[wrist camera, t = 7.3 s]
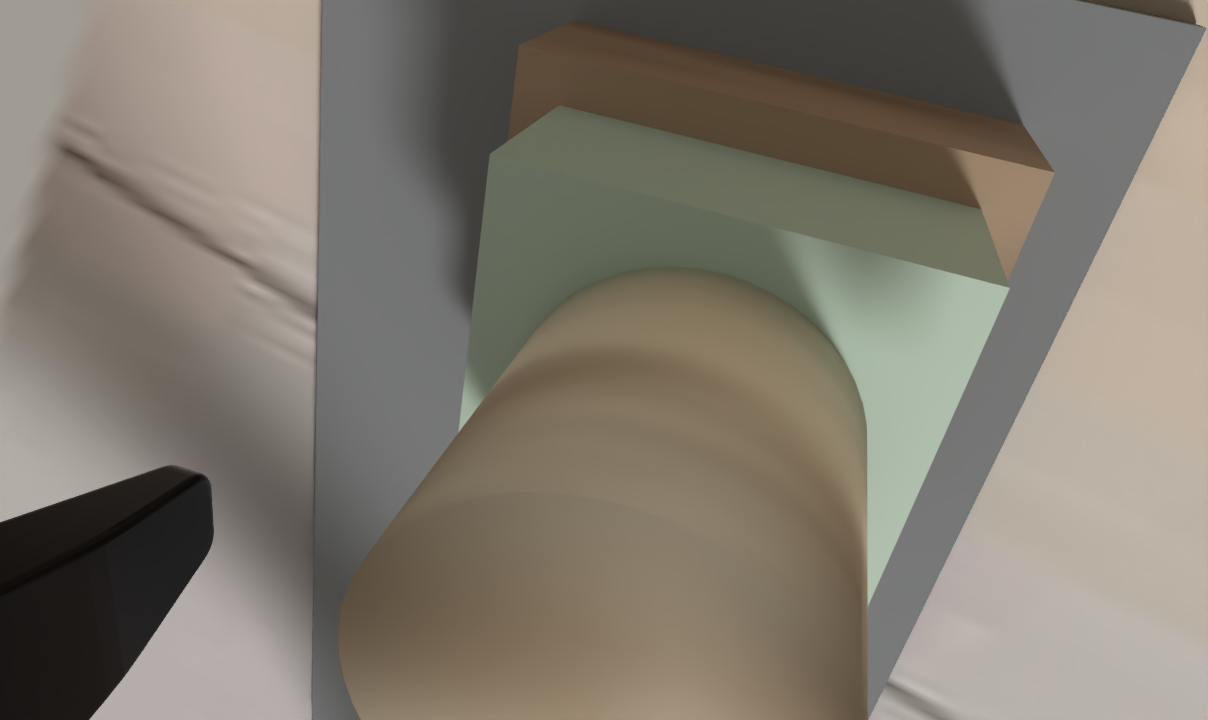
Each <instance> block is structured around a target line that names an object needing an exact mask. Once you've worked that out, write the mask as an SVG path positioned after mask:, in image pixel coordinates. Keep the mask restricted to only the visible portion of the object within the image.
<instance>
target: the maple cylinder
mask: <svg viewBox="0 0 1208 720" xmlns="http://www.w3.org/2000/svg"><path fill="white" fill-rule="evenodd" d="M338 642H339V658H340V662H341V667H342V672H343V677H344V681H345V684H346V687H347V689H348V692H349V695H350V698H351V700H352V703H353V705H354V707H355V709H356V711H357V713H358V715H359V717H360V719H361V720H868V546H867V424H866V418H865V412H864V407H863V402H862V400H861V397H860V394H859V391H858V388H857V385H856V382H855V380H854V378H853V376H852V374H851V372H850V370H849V368H848V367H847V365H846V363H845V361H844V360H843V358H842V357H841V355H840V354H839V352H838V351H837V350H836V348H835V347H834V345H833V344H832V343H831V341H830V340H829V339H828V338H827V337H826V336H825V335H824V334H823V333H822V332H821V331H820V329H819V328H818V327H817V326H816V325H815V324H814V323H813V322H811V321H810V320H809V319H808V318H807V317H805V316H804V315H803V314H802V313H801V312H799V311H798V310H797V309H796V308H795V307H793V306H792V305H790V304H788V303H787V302H785V301H784V300H782V299H781V298H779V297H777V296H776V295H774V294H773V293H771V292H768V291H766V290H764V289H762V288H760V287H758V286H756V285H754V284H752V283H750V282H747V281H744V280H741V279H738V278H735V277H732V276H729V275H726V274H722V273H717V272H712V271H707V270H703V269H696V268H683V267H655V268H644V269H639V270H633V271H627V272H623V273H620V274H617V275H613V276H610V277H607V278H604V279H601V280H599V281H597V282H595V283H593V284H591V285H588V286H586V287H584V288H582V289H581V290H579V291H577V292H576V293H574V294H573V295H571V296H570V297H568V298H567V299H565V300H564V301H563V302H562V303H560V304H559V305H558V306H557V307H556V308H555V309H554V310H553V311H552V312H550V313H549V314H548V315H547V317H546V318H545V319H544V320H543V321H542V323H541V324H540V325H539V326H538V328H537V329H536V330H535V331H534V333H533V334H532V335H531V337H530V338H529V339H528V341H527V342H526V343H525V345H524V346H523V347H522V349H521V350H520V351H519V353H518V354H517V355H516V357H515V358H514V359H513V361H512V362H511V363H510V365H509V366H508V367H507V369H506V370H505V371H504V373H503V374H502V375H501V377H500V378H499V379H498V381H497V382H496V383H495V385H494V386H493V387H492V389H491V390H490V391H489V393H488V394H487V395H486V397H485V398H484V399H483V401H482V402H481V403H480V405H479V406H478V407H477V409H476V410H475V411H474V413H473V414H472V415H471V417H470V418H469V419H468V421H467V422H466V423H465V425H464V426H463V427H462V429H461V430H460V431H459V433H458V434H457V435H456V437H455V438H454V439H453V441H452V442H451V443H450V445H449V446H448V447H447V449H446V450H445V451H444V453H443V454H442V455H441V457H440V458H439V459H438V461H437V462H436V463H435V465H434V466H433V467H432V469H431V470H430V471H429V473H428V474H427V475H426V477H425V478H424V479H423V481H422V482H421V483H420V485H419V486H418V487H417V489H416V490H415V491H414V493H413V494H412V495H411V497H410V498H409V499H408V501H407V502H406V503H405V505H404V506H403V507H402V509H401V510H400V511H399V513H398V514H397V515H396V517H395V518H394V519H393V521H392V522H391V523H390V525H389V526H388V527H387V529H386V530H385V531H384V533H383V534H382V535H381V537H380V538H379V539H378V541H377V542H376V543H375V545H374V546H373V547H372V549H371V550H370V551H369V553H368V554H367V555H366V557H365V558H364V559H363V561H362V562H361V563H360V565H359V567H358V569H357V570H356V572H355V574H354V576H353V578H352V580H351V581H350V583H349V585H348V588H347V591H346V594H345V597H344V600H343V603H342V606H341V612H340V620H339V628H338Z"/></svg>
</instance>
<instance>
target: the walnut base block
mask: <svg viewBox="0 0 1208 720" xmlns="http://www.w3.org/2000/svg"><path fill="white" fill-rule="evenodd" d="M559 105H561V106H565V107H569V108H573V109H577V110H581V111H585V112H589V113H593V114H597V115H601V116H605V117H609V118H613V119H617V120H621V121H625V122H629V123H633V124H638V125H642V126H646V127H650V128H654V129H658V130H662V131H666V132H670V133H674V134H678V135H682V136H686V137H690V138H694V139H698V140H702V141H706V142H710V143H715V144H719V145H723V146H727V147H731V148H735V149H739V150H743V151H747V152H751V153H755V154H759V155H763V156H767V157H771V158H775V159H779V160H783V161H788V162H792V163H796V164H800V165H804V166H808V167H812V168H816V169H820V170H824V171H828V172H832V173H836V174H840V175H844V176H848V177H852V178H856V179H860V180H865V181H869V182H873V183H877V184H881V185H885V186H889V187H893V188H897V189H901V190H905V191H909V192H913V193H917V194H921V195H925V196H929V197H933V198H937V199H942V200H946V201H950V202H954V203H958V204H962V205H966V206H970V207H974V208H978V209H982V212H983V215H984V217H985V220H986V223H987V226H988V229H989V231H990V234H991V237H992V240H993V242H994V245H995V248H996V251H997V253H998V256H999V259H1000V262H1001V265H1002V267H1003V270H1004V273H1005V276H1006V278H1007V280H1008V278H1009V276H1010V274H1011V271H1012V269H1013V267H1014V265H1015V262H1016V260H1017V258H1018V256H1019V253H1020V251H1021V249H1022V246H1023V244H1024V242H1025V240H1026V237H1027V235H1028V233H1029V231H1030V228H1031V226H1032V224H1033V222H1034V219H1035V217H1036V215H1037V213H1038V210H1039V208H1040V206H1041V204H1042V201H1043V199H1044V197H1045V194H1046V192H1047V190H1048V188H1049V185H1050V183H1051V181H1052V179H1053V176H1054V174H1055V172H1054V170H1053V169H1052V167H1051V166H1050V164H1049V163H1048V161H1047V160H1046V158H1045V157H1044V155H1043V154H1042V152H1041V151H1040V149H1039V148H1038V146H1037V145H1036V143H1035V142H1034V140H1033V139H1032V137H1031V136H1030V134H1029V133H1028V131H1027V130H1026V128H1025V127H1024V125H1023V124H1019V123H1015V122H1010V121H1006V120H1002V119H997V118H993V117H989V116H984V115H980V114H976V113H972V112H967V111H963V110H959V109H954V108H950V107H946V106H941V105H937V104H933V103H928V102H924V101H920V100H916V99H911V98H907V97H903V96H898V95H894V94H890V93H885V92H881V91H877V90H873V89H868V88H864V87H860V86H855V85H851V84H847V83H842V82H838V81H834V80H830V79H825V78H821V77H817V76H812V75H808V74H804V73H799V72H795V71H791V70H786V69H782V68H778V67H774V66H769V65H765V64H761V63H756V62H752V61H748V60H743V59H739V58H735V57H731V56H726V55H722V54H718V53H713V52H709V51H705V50H700V49H696V48H692V47H688V46H683V45H679V44H675V43H670V42H666V41H662V40H657V39H653V38H649V37H644V36H640V35H636V34H632V33H627V32H623V31H619V30H614V29H610V28H606V27H601V26H597V25H593V24H589V23H584V22H580V21H576V20H573V21H571V22H569V23H567V24H564V25H562V26H560V27H558V28H556V29H553V30H551V31H549V32H547V33H544V34H542V35H540V36H538V37H536V38H533V39H531V40H529V41H527V42H524V43H522V44H520V45H519V51H518V59H517V67H516V75H515V84H514V92H513V100H512V108H511V116H510V125H509V133H508V141H509V140H511V139H512V138H513V137H515V136H516V135H518V134H519V133H520V132H522V131H523V130H525V129H526V128H528V127H529V126H530V125H532V124H533V123H535V122H536V121H537V120H539V119H540V118H542V117H543V116H545V115H546V114H547V113H549V112H550V111H552V110H553V109H555V108H556V107H557V106H559ZM508 141H507V142H508Z"/></svg>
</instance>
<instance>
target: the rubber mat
mask: <svg viewBox="0 0 1208 720" xmlns="http://www.w3.org/2000/svg"><path fill="white" fill-rule="evenodd" d="M573 20H576V21H580V22H584V23H589V24H593V25H597V26H601V27H606V28H610V29H614V30H619V31H623V32H627V33H632V34H636V35H640V36H644V37H649V38H653V39H657V40H662V41H666V42H670V43H675V44H679V45H683V46H688V47H692V48H696V49H700V50H705V51H709V52H713V53H718V54H722V55H726V56H731V57H735V58H739V59H743V60H748V61H752V62H756V63H761V64H765V65H769V66H774V67H778V68H782V69H786V70H791V71H795V72H799V73H804V74H808V75H812V76H817V77H821V78H825V79H830V80H834V81H838V82H842V83H847V84H851V85H855V86H860V87H864V88H868V89H873V90H877V91H881V92H885V93H890V94H894V95H898V96H903V97H907V98H911V99H916V100H920V101H924V102H928V103H933V104H937V105H941V106H946V107H950V108H954V109H959V110H963V111H967V112H972V113H976V114H980V115H984V116H989V117H993V118H997V119H1002V120H1006V121H1010V122H1015V123H1019V124H1023V125H1024V127H1025V128H1026V130H1027V131H1028V133H1029V134H1030V136H1031V137H1032V139H1033V140H1034V142H1035V143H1036V145H1037V146H1038V148H1039V149H1040V151H1041V152H1042V154H1043V155H1044V157H1045V158H1046V160H1047V161H1048V163H1049V164H1050V166H1051V167H1052V169H1053V170H1054V172H1055V174H1054V176H1053V179H1052V181H1051V183H1050V185H1049V188H1048V190H1047V192H1046V194H1045V197H1044V199H1043V201H1042V204H1041V206H1040V208H1039V210H1038V213H1037V215H1036V217H1035V219H1034V222H1033V224H1032V226H1031V228H1030V231H1029V233H1028V235H1027V237H1026V240H1025V242H1024V244H1023V246H1022V249H1021V251H1020V253H1019V256H1018V258H1017V260H1016V262H1015V265H1014V267H1013V269H1012V271H1011V274H1010V276H1009V278H1008V280H1007V281H1008V284H1009V287H1010V289H1009V291H1008V293H1007V296H1006V298H1005V300H1004V302H1003V305H1002V307H1001V309H1000V311H999V314H998V316H997V318H996V320H995V323H994V325H993V327H992V329H991V332H990V334H989V336H988V338H987V341H986V343H985V345H984V347H983V350H982V352H981V354H980V356H979V359H978V361H977V363H976V365H975V367H974V370H973V372H972V374H971V376H970V379H969V381H968V383H967V385H966V388H965V390H964V392H963V394H962V397H961V399H960V401H959V403H958V406H957V408H956V410H955V412H954V415H953V417H952V419H951V421H950V424H949V426H948V428H947V430H946V432H945V435H944V437H943V439H942V441H941V444H940V446H939V448H938V450H937V453H936V455H935V457H934V459H933V462H932V464H931V466H930V468H929V471H928V473H927V475H926V477H925V480H924V482H923V484H922V486H921V489H920V491H919V493H918V495H917V497H916V500H915V502H914V504H913V506H912V509H911V511H910V513H909V515H908V518H907V520H906V522H905V524H904V527H903V529H902V531H901V533H900V536H899V538H898V540H897V542H896V545H895V547H894V549H893V551H892V554H891V556H890V558H889V560H888V563H887V565H886V567H885V569H884V571H883V574H882V576H881V578H880V580H879V583H878V585H877V587H876V589H875V592H874V594H873V596H872V598H871V601H870V603H869V605H868V719H869V717H870V715H871V713H872V711H873V709H874V707H875V705H876V703H877V701H878V699H879V697H880V695H881V693H882V691H883V689H884V687H885V685H886V682H887V680H888V678H889V676H890V674H891V672H892V670H893V668H894V666H895V664H896V662H897V660H898V658H899V656H900V654H901V652H902V650H903V648H904V646H905V644H906V642H907V640H908V638H909V635H910V633H911V631H912V629H913V627H914V625H915V623H916V621H917V619H918V617H919V615H920V613H921V611H922V609H923V607H924V605H925V603H926V601H927V599H928V597H929V595H930V593H931V590H932V588H933V586H934V584H935V582H936V580H937V578H938V576H939V574H940V572H941V570H942V568H943V566H944V564H945V562H946V560H947V558H948V556H949V554H950V552H951V550H952V548H953V546H954V543H955V541H956V539H957V537H958V535H959V533H960V531H961V529H962V527H963V525H964V523H965V521H966V519H967V517H968V515H969V513H970V511H971V509H972V507H973V505H974V503H975V501H976V498H977V496H978V494H979V492H980V490H981V488H982V486H983V484H984V482H985V480H986V478H987V476H988V474H989V472H990V470H991V468H992V466H993V464H994V462H995V460H996V458H997V456H998V454H999V451H1000V449H1001V447H1002V445H1003V443H1004V441H1005V439H1006V437H1007V435H1008V433H1009V431H1010V429H1011V427H1012V425H1013V423H1014V421H1015V419H1016V417H1017V415H1018V413H1019V411H1020V409H1021V407H1022V404H1023V402H1024V400H1025V398H1026V396H1027V394H1028V392H1029V390H1030V388H1031V386H1032V384H1033V382H1034V380H1035V378H1036V376H1037V374H1038V372H1039V370H1040V368H1041V366H1042V364H1043V362H1044V359H1045V357H1046V355H1047V353H1048V351H1049V349H1050V347H1051V345H1052V343H1053V341H1054V339H1055V337H1056V335H1057V333H1058V331H1059V329H1060V327H1061V325H1062V323H1063V321H1064V319H1065V317H1066V315H1067V312H1068V310H1069V308H1070V306H1071V304H1072V302H1073V300H1074V298H1075V296H1076V294H1077V292H1078V290H1079V288H1080V286H1081V284H1082V282H1083V280H1084V278H1085V276H1086V274H1087V272H1088V270H1089V267H1090V265H1091V263H1092V261H1093V259H1094V257H1095V255H1096V253H1097V251H1098V249H1099V247H1100V245H1101V243H1102V241H1103V239H1104V237H1105V235H1106V233H1107V231H1108V229H1109V227H1110V225H1111V223H1112V220H1113V218H1114V216H1115V214H1116V212H1117V210H1118V208H1119V206H1120V204H1121V202H1122V200H1123V198H1124V196H1125V194H1126V192H1127V190H1128V188H1129V186H1130V184H1131V182H1132V180H1133V178H1134V175H1135V173H1136V171H1137V169H1138V167H1139V165H1140V163H1141V161H1142V159H1143V157H1144V155H1145V153H1146V151H1147V149H1148V147H1149V145H1150V143H1151V141H1152V139H1153V137H1154V135H1155V133H1156V131H1157V128H1158V126H1159V124H1160V122H1161V120H1162V118H1163V116H1164V114H1165V112H1166V110H1167V108H1168V106H1169V104H1170V102H1171V100H1172V98H1173V96H1174V94H1175V92H1176V90H1177V88H1178V86H1179V84H1180V81H1181V79H1182V77H1183V75H1184V73H1185V71H1186V69H1187V67H1188V65H1189V63H1190V61H1191V59H1192V57H1193V55H1194V53H1195V51H1196V49H1197V47H1198V45H1199V43H1200V41H1201V39H1202V36H1203V34H1204V32H1205V30H1206V28H1205V27H1202V26H1200V25H1196V24H1192V23H1187V22H1182V21H1178V20H1173V19H1168V18H1163V17H1159V16H1154V15H1149V14H1145V13H1140V12H1135V11H1130V10H1126V9H1121V8H1116V7H1112V6H1107V5H1102V4H1097V3H1093V2H1088V1H1083V0H322V52H321V120H320V187H319V255H318V323H317V390H316V458H315V526H314V593H313V661H312V720H361V719H360V717H359V715H358V713H357V711H356V709H355V707H354V705H353V703H352V700H351V698H350V695H349V692H348V689H347V687H346V684H345V681H344V677H343V672H342V667H341V662H340V658H339V642H338V628H339V620H340V612H341V606H342V603H343V600H344V597H345V594H346V591H347V588H348V585H349V583H350V581H351V580H352V578H353V576H354V574H355V572H356V570H357V569H358V567H359V565H360V563H361V562H362V561H363V559H364V558H365V557H366V555H367V554H368V553H369V551H370V550H371V549H372V547H373V546H374V545H375V543H376V542H377V541H378V539H379V538H380V537H381V535H382V534H383V533H384V531H385V530H386V529H387V527H388V526H389V525H390V523H391V522H392V521H393V519H394V518H395V517H396V515H397V514H398V513H399V511H400V510H401V509H402V507H403V506H404V505H405V503H406V502H407V501H408V499H409V498H410V497H411V495H412V494H413V493H414V491H415V490H416V489H417V487H418V486H419V485H420V483H421V482H422V481H423V479H424V478H425V477H426V475H427V474H428V473H429V471H430V470H431V469H432V467H433V466H434V465H435V463H436V462H437V461H438V459H439V458H440V457H441V455H442V454H443V453H444V451H445V450H446V449H447V447H448V446H449V445H450V443H451V442H452V441H453V439H454V438H455V437H456V435H457V434H458V432H459V423H460V414H461V405H462V397H463V388H464V379H465V370H466V361H467V352H468V343H469V334H470V326H471V317H472V308H473V299H474V290H475V281H476V272H477V263H478V254H479V246H480V237H481V228H482V219H483V210H484V201H485V192H486V183H487V175H488V166H489V157H490V154H491V153H492V152H493V151H495V150H496V149H498V148H499V147H501V146H502V145H503V144H505V143H506V142H507V141H508V133H509V125H510V116H511V108H512V100H513V92H514V84H515V75H516V67H517V59H518V51H519V45H520V44H522V43H524V42H527V41H529V40H531V39H533V38H536V37H538V36H540V35H542V34H544V33H547V32H549V31H551V30H553V29H556V28H558V27H560V26H562V25H564V24H567V23H569V22H571V21H573Z"/></svg>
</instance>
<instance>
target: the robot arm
mask: <svg viewBox="0 0 1208 720" xmlns="http://www.w3.org/2000/svg"><path fill="white" fill-rule="evenodd" d="M213 536H214V526H213V509H212V493H211V484H210V481H209V480H208V478H207V477H206V476H204V475H203V474H201V473H198V472H195V471H191V470H188V469H185V468H182V467H179V466H173V465H170V466H165V467H161V468H158V469H155V470H152V471H149V472H147V473H144V474H141V475H138V476H135V477H132V478H129V479H126V480H123V481H120V482H117V483H114V484H111V485H108V486H106V487H103V488H100V489H97V490H94V491H91V492H88V493H85V494H82V495H79V496H76V497H73V498H70V499H67V500H65V501H62V502H59V503H56V504H53V505H50V506H47V507H44V508H41V509H38V510H35V511H32V512H29V513H26V514H23V515H21V516H18V517H15V518H12V519H9V520H6V521H3V522H0V720H89V719H90V718H91V717H92V716H93V714H94V713H95V712H96V711H97V710H98V708H99V707H100V706H101V705H102V704H103V702H104V701H105V700H106V699H107V698H108V696H109V695H110V694H111V693H112V691H113V690H114V689H115V688H116V686H117V685H118V684H119V683H120V681H121V680H122V679H123V677H124V676H125V675H126V673H127V672H128V671H129V669H130V668H131V666H132V665H133V664H134V662H135V661H136V660H137V658H138V657H139V655H140V654H141V652H142V651H143V649H144V648H145V646H146V645H147V643H148V642H149V640H150V639H151V637H152V636H153V634H154V633H155V632H156V630H157V629H158V627H159V626H160V624H161V623H162V621H163V620H164V618H165V617H166V615H167V614H168V612H169V611H170V609H171V608H172V606H173V605H174V603H175V602H176V600H177V599H178V597H179V596H180V594H181V593H182V591H183V590H184V588H185V587H186V585H187V584H188V583H189V581H190V580H191V578H192V577H193V575H194V574H195V572H196V571H197V569H198V568H199V566H200V565H201V563H202V562H203V560H204V559H205V557H206V555H207V554H208V552H209V550H210V547H211V544H212V541H213Z"/></svg>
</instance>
